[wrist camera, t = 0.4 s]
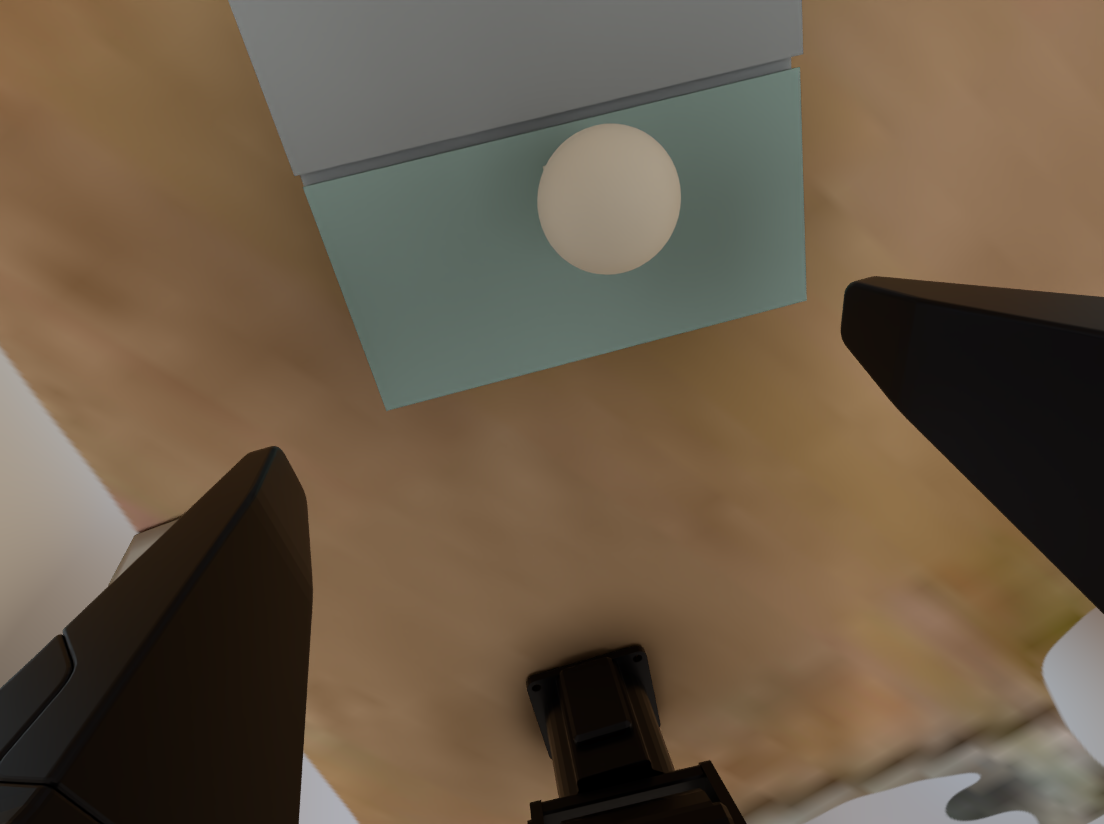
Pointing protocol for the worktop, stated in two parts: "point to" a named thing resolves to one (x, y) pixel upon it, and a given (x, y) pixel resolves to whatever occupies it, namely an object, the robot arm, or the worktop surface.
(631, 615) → the worktop surface
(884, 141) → the worktop surface
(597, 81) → the carton
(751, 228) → the near flap
